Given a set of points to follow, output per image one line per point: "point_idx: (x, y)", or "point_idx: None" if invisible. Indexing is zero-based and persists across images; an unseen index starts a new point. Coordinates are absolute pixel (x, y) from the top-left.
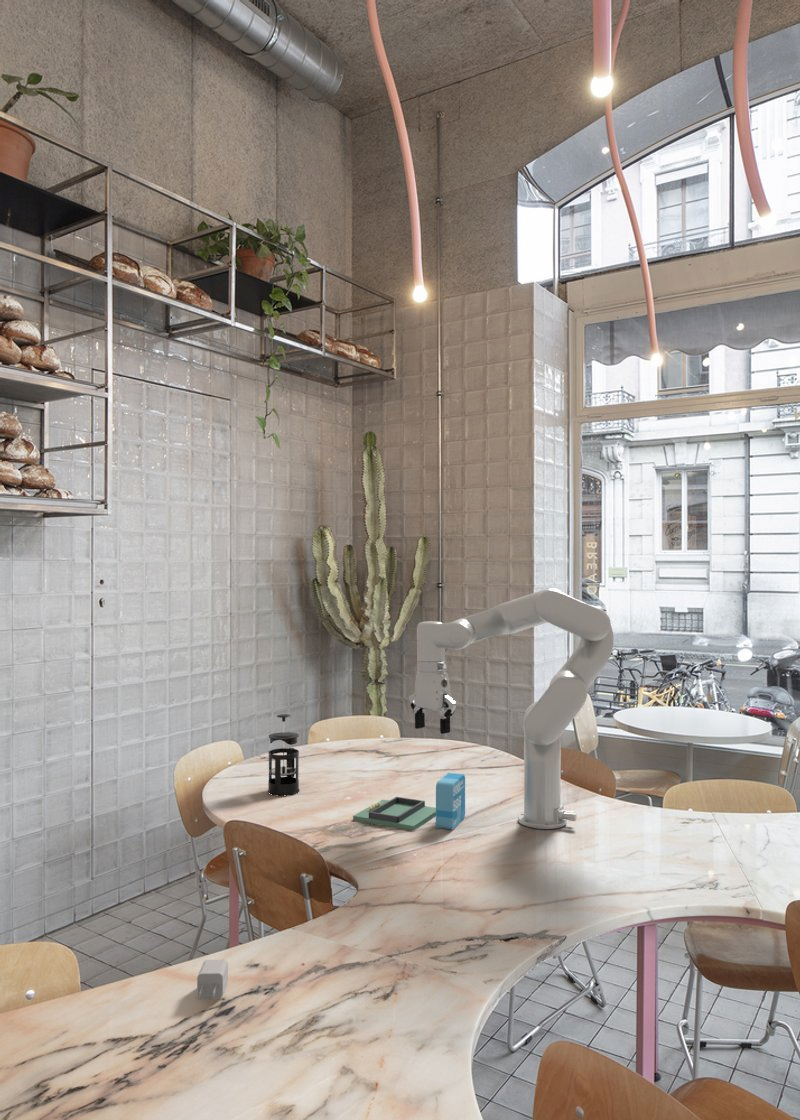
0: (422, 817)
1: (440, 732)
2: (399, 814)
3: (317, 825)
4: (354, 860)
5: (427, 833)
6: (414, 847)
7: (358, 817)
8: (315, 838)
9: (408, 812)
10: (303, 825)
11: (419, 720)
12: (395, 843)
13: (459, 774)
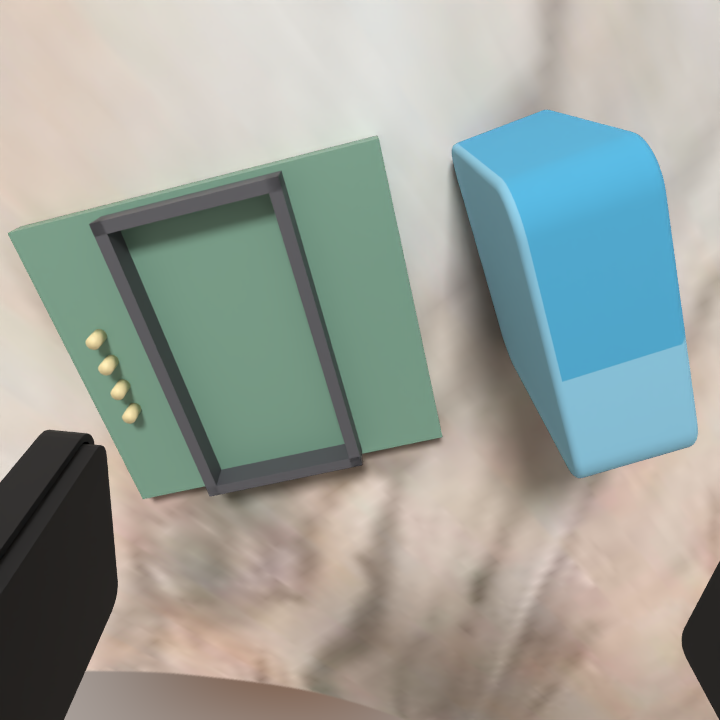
0: (399, 328)
1: (692, 659)
2: (280, 365)
3: None
4: (455, 696)
5: (506, 413)
6: (549, 541)
7: (170, 490)
8: (220, 662)
9: (336, 371)
10: None
11: (51, 681)
12: (467, 553)
13: (637, 219)
